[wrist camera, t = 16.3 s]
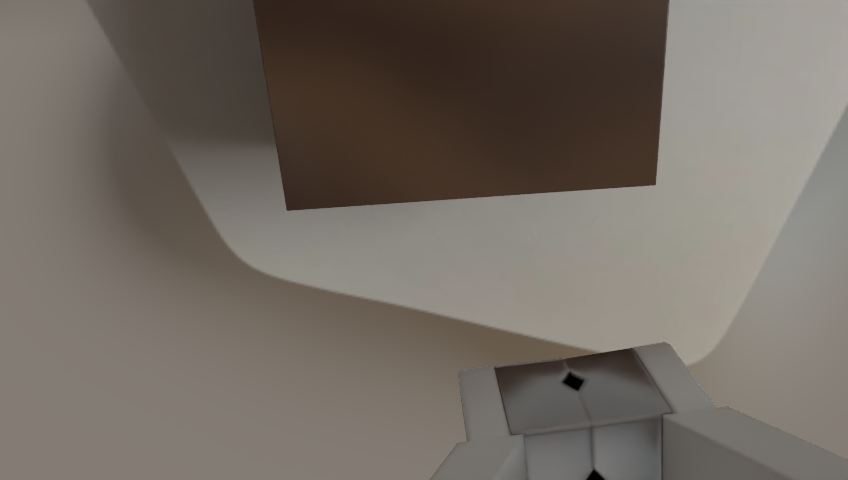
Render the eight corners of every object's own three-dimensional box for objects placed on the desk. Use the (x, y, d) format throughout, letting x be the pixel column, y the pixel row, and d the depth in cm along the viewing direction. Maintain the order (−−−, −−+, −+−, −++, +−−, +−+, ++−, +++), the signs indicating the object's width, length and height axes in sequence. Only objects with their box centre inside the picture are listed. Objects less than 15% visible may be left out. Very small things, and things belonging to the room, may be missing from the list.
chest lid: (236, -133, 23) (230, -136, 22) (673, -167, 23) (682, -170, 22) (289, 204, 28) (286, 211, 27) (649, 178, 28) (656, 185, 27)
